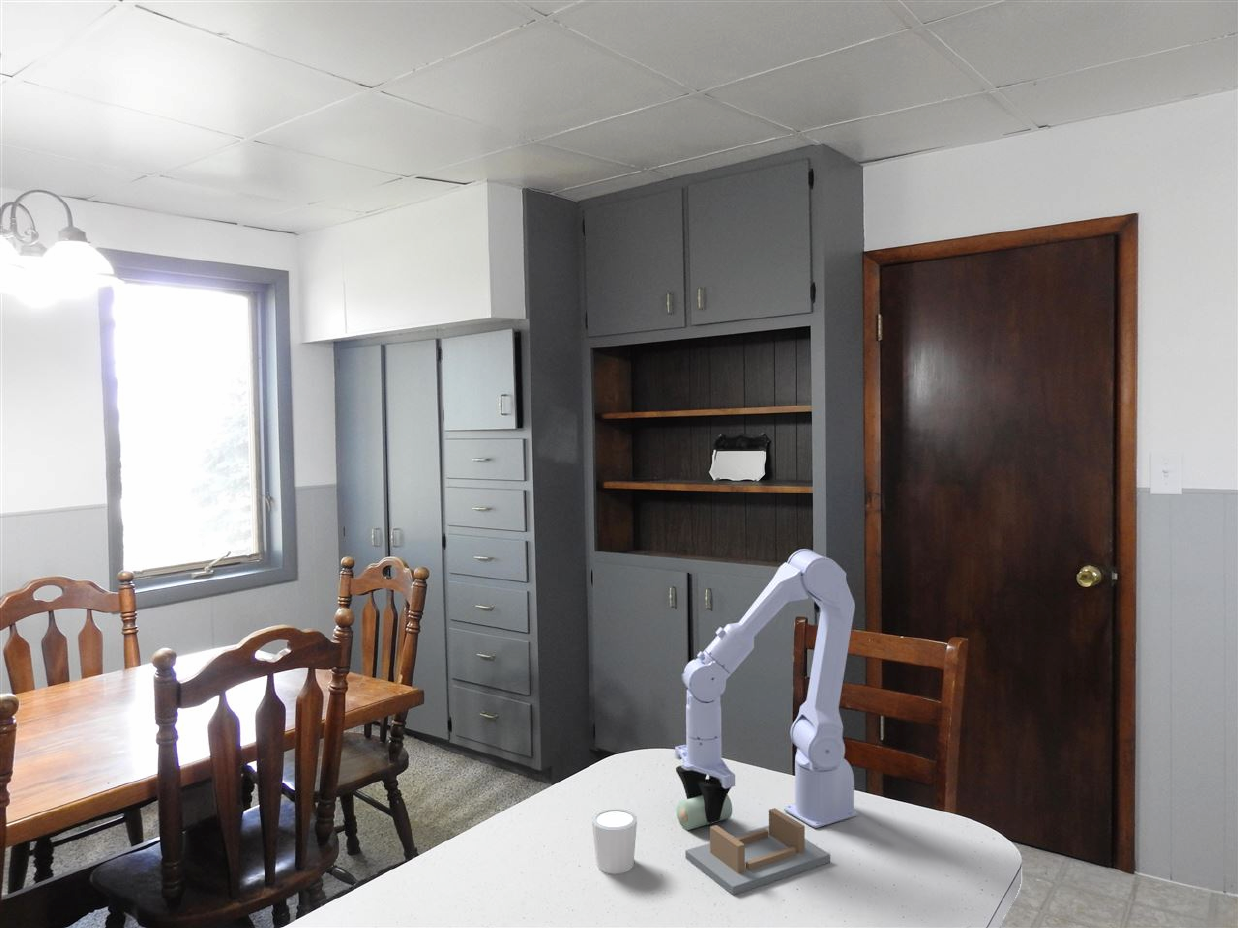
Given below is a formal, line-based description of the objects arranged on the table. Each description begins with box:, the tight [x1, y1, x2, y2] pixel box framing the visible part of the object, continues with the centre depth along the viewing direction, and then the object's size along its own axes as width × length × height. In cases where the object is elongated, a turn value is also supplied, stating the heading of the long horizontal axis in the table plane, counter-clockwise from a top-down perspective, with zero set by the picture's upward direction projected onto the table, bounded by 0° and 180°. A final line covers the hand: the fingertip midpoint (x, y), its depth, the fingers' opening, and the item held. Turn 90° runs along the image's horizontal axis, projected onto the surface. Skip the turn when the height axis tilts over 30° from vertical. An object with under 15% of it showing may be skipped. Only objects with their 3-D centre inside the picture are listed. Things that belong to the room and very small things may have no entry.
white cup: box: [591, 808, 638, 874], centre depth 133 cm, size 7×7×7 cm
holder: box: [684, 807, 831, 896], centre depth 133 cm, size 18×12×5 cm, turn 119°
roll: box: [676, 793, 733, 831], centre depth 146 cm, size 8×4×4 cm, turn 119°
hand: (704, 814), depth 146 cm, fingers closed on roll, 4 cm apart
